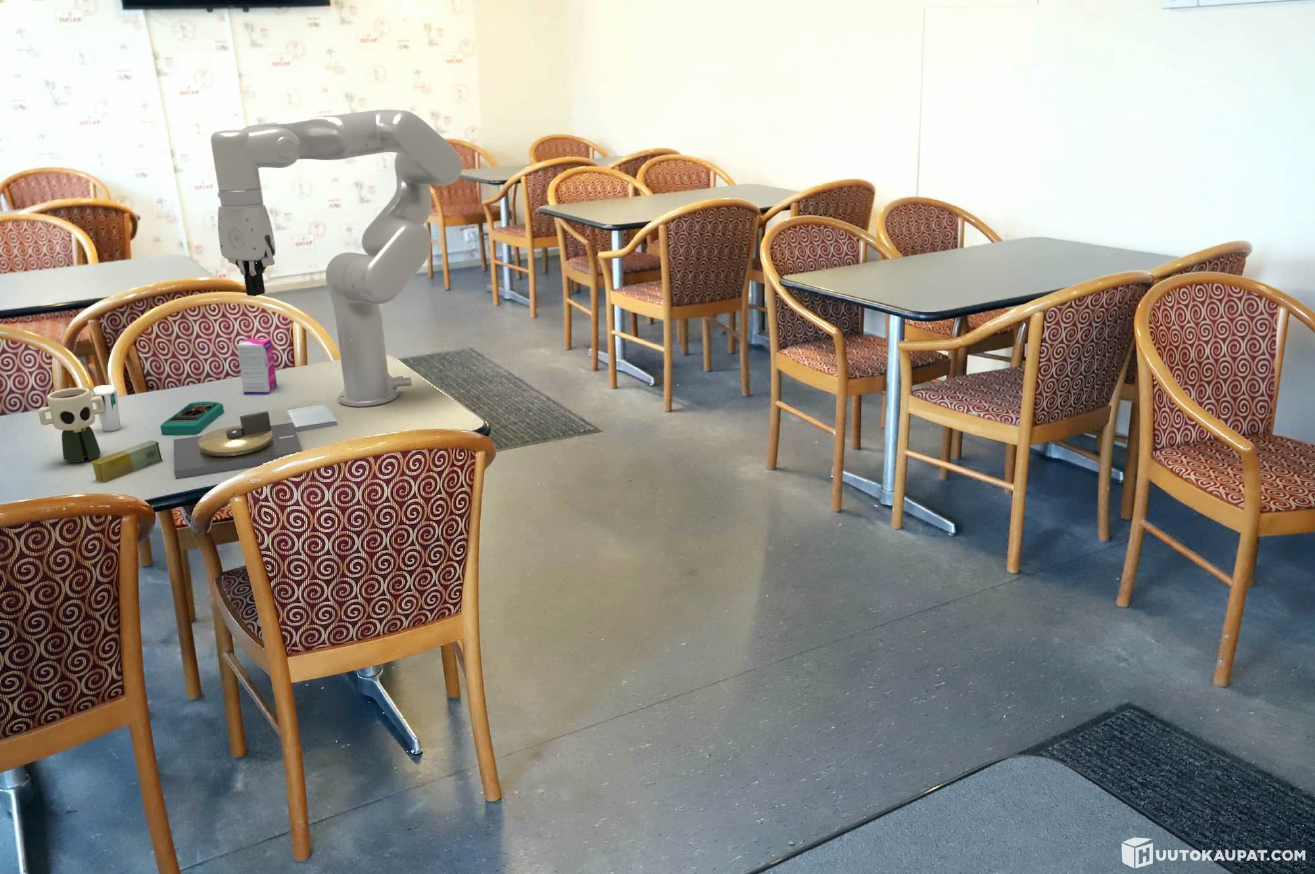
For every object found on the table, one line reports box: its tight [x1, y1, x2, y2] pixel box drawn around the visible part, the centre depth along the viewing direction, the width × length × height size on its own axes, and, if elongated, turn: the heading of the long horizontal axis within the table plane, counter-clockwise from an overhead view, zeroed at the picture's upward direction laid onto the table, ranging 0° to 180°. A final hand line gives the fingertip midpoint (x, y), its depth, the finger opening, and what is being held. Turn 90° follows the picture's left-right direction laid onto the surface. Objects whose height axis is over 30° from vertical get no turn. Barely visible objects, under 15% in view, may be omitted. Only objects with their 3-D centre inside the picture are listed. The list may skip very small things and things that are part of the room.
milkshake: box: [88, 384, 122, 433], centre depth 213 cm, size 4×5×10 cm
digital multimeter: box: [160, 401, 225, 436], centre depth 218 cm, size 7×15×3 cm, turn 0°
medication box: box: [91, 440, 163, 483], centre depth 193 cm, size 12×3×4 cm, turn 150°
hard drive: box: [286, 404, 338, 433], centre depth 218 cm, size 2×8×12 cm
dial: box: [198, 410, 273, 456], centre depth 200 cm, size 13×13×5 cm
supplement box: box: [236, 338, 278, 396], centre depth 236 cm, size 6×6×12 cm
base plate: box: [173, 422, 303, 480], centre depth 201 cm, size 22×18×2 cm
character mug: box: [37, 387, 105, 463], centre depth 198 cm, size 11×7×13 cm, turn 131°
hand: (256, 294), depth 206 cm, fingers closed
